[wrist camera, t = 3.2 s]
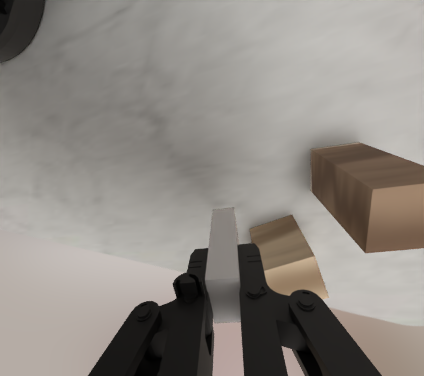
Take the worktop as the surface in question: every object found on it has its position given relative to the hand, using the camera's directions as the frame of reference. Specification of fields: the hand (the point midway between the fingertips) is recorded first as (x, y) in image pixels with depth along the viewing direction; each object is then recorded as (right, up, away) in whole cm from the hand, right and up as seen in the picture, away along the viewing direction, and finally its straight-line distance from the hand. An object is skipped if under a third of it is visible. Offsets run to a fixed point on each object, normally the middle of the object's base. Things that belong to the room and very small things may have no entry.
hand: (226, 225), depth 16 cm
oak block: (+7, -3, +10) cm, 13 cm away
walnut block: (+11, +5, +7) cm, 14 cm away
